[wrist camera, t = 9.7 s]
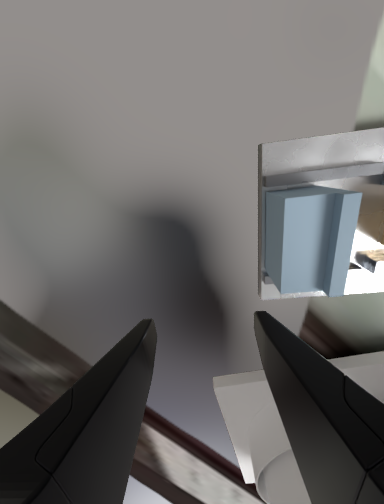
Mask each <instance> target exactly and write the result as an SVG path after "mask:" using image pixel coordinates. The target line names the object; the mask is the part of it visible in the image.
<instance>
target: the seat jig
mask: <svg viewBox="0 0 384 504" xmlns="http://www.w3.org/2000/svg"><path fill="white" fill-rule="evenodd" d="M311 186H324V187H330V188H337V189H343V190H349V191H356V192H362V198H361V204H360V209H359V215H358V220H357V226H356V231H355V237H354V242H353V248H352V253H351V259H350V264H349V270H348V275H347V281H346V286H345V292H344V294H355V293H368V292H382V291H384V245H381V244H380V243H381V239H382V235H383V231H384V127H382V128H375V129H367V130H360V131H352V132H346V133H338V134H330V135H323V136H315V137H308V138H301V139H293V140H286V141H278V142H271V143H264V144H260V145H258V294H259V297H260V299H261V300H274V299H288V298H300V297H314V296H327V295H326V294H325V293H324V292H323V291H313V292H300V293H287V294H280V292H279V291H278V289H277V287H276V286H275V284H274V283H273V281H272V280H271V278H270V276H269V275H268V273H267V272H266V270H265V251H266V192H268V191H276V190H285V189H294V188H302V187H311Z"/></svg>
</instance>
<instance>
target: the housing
mask: <svg viewBox="0 0 384 504" xmlns="http://www.w3.org/2000/svg"><path fill="white" fill-rule="evenodd" d="M361 198H362V192H356V191H349V190H343V189H337V188H330V187H324V186H311V187H302V188H294V189H285V190H276V191H268V192H266V251H265V270H266V272H267V273H268V275H269V276H270V278H271V280H272V281H273V283H274V284H275V286H276V287H277V289H278V291H279V292H280V294H287V293H300V292H313V291H323V292H324V293H325V294H326V295H327V296H328V297H337V296H344V292H345V286H346V281H347V275H348V270H349V264H350V259H351V253H352V248H353V242H354V237H355V231H356V226H357V220H358V215H359V209H360V204H361Z"/></svg>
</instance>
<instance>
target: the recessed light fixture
mask: <svg viewBox="0 0 384 504" xmlns="http://www.w3.org/2000/svg"><path fill="white" fill-rule="evenodd" d="M328 361H329V362H330V363H332V364H333V365H334V366H336V367H337V368H338V369H339V370H341V371H342V372H343V373H344V376H345V375H347V376H348V377H350V378H351V379H352V380H353V381H355V382H356V383H357V384H358V385H360V386H361V387H362V388H364V389H365V390H366V391H368V392H369V393H370V394H372V395H373V396H374V397H376V398H377V399H378V400H379V401H381V402H382V403H384V351H381V352H374V353H368V354H361V355H355V356H348V357H342V358H335V359H328ZM213 389H214V392H215V395H216V397H217V401H218V403H219V406H220V409H221V412H222V415H223V418H224V421H225V424H226V427H227V430H228V433H229V436H230V439H231V442H232V445H233V448H234V451H235V453H236V456H237V459H238V462H239V465H240V468H241V471H242V474H243V477H244V480H245V483H256V488H257V491H258V494H259V495H260V497H261V498H262V499H263V500H264V501H265V502H266V503H267V504H311V501H310V498H309V495H308V492H307V490H306V487H305V484H304V481H303V479H302V476H301V473H300V470H299V467H298V465H297V462H296V459H295V456H294V454H293V451H292V448H291V445H290V442H289V440H288V437H287V434H286V431H285V428H284V426H283V423H282V420H281V417H280V415H279V412H278V409H277V406H276V403H275V401H274V398H273V395H272V392H271V390H270V387H269V384H268V381H267V378H266V375H265V372H264V369H263V370H256V371H249V372H243V373H236V374H230V375H223V376H217V377H213Z"/></svg>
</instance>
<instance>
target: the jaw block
mask: <svg viewBox="0 0 384 504" xmlns="http://www.w3.org/2000/svg"><path fill="white" fill-rule="evenodd" d="M380 244H381V245H384V231H383V235H382V239H381V243H380Z"/></svg>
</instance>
